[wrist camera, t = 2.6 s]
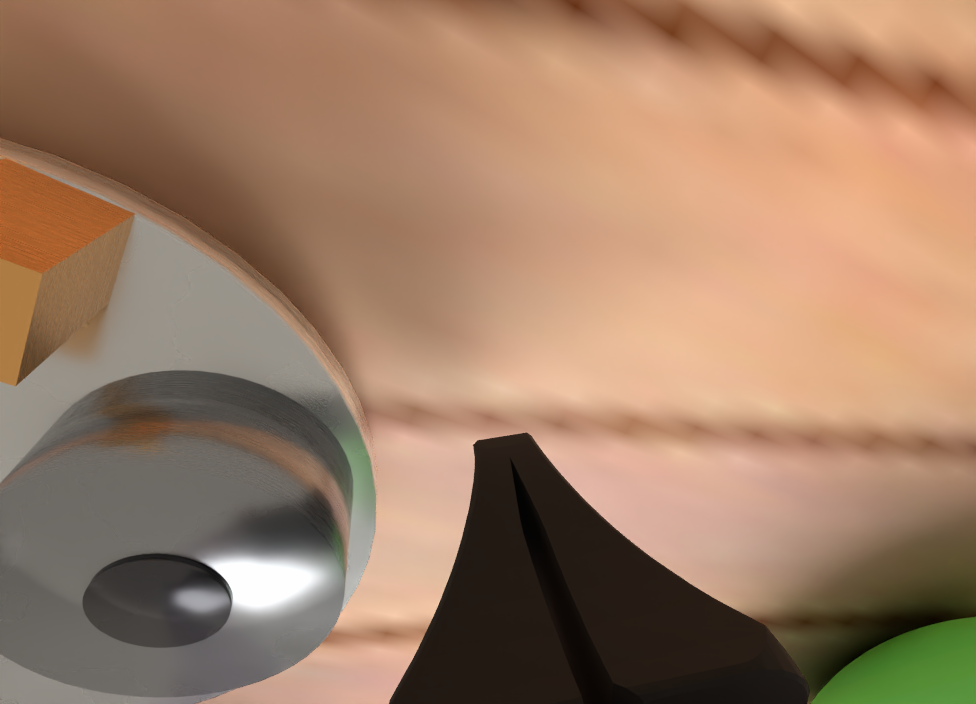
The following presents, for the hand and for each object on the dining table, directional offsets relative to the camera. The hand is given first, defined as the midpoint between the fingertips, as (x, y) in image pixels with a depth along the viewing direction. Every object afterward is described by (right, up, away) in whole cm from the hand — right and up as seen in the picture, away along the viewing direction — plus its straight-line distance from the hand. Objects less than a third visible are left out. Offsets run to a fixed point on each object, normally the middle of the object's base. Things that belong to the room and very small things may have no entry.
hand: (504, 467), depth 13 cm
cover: (-7, -1, 0) cm, 7 cm away
